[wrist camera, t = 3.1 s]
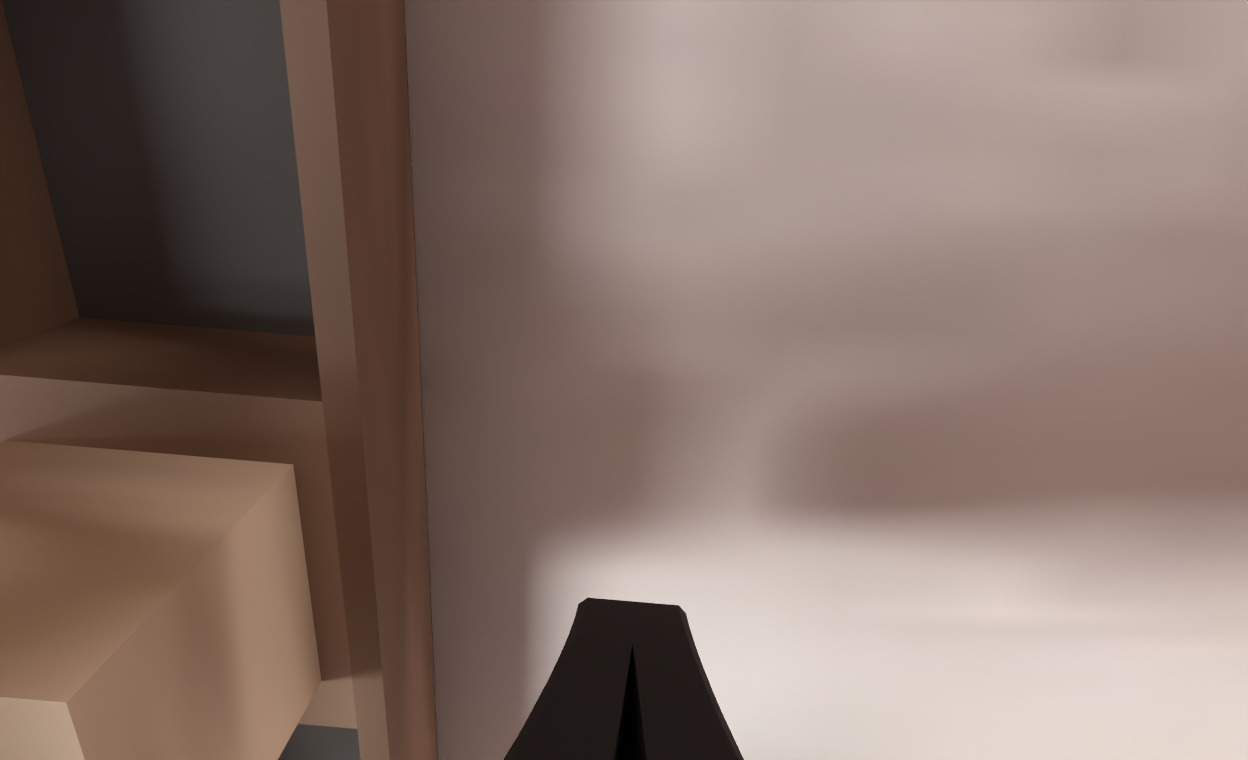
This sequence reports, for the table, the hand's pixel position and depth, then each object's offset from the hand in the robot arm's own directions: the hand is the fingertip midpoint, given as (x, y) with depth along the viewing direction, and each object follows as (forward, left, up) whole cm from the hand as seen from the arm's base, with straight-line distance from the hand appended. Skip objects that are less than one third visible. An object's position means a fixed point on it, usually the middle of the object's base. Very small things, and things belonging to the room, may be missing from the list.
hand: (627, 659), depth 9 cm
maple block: (-7, 0, -1) cm, 7 cm away
